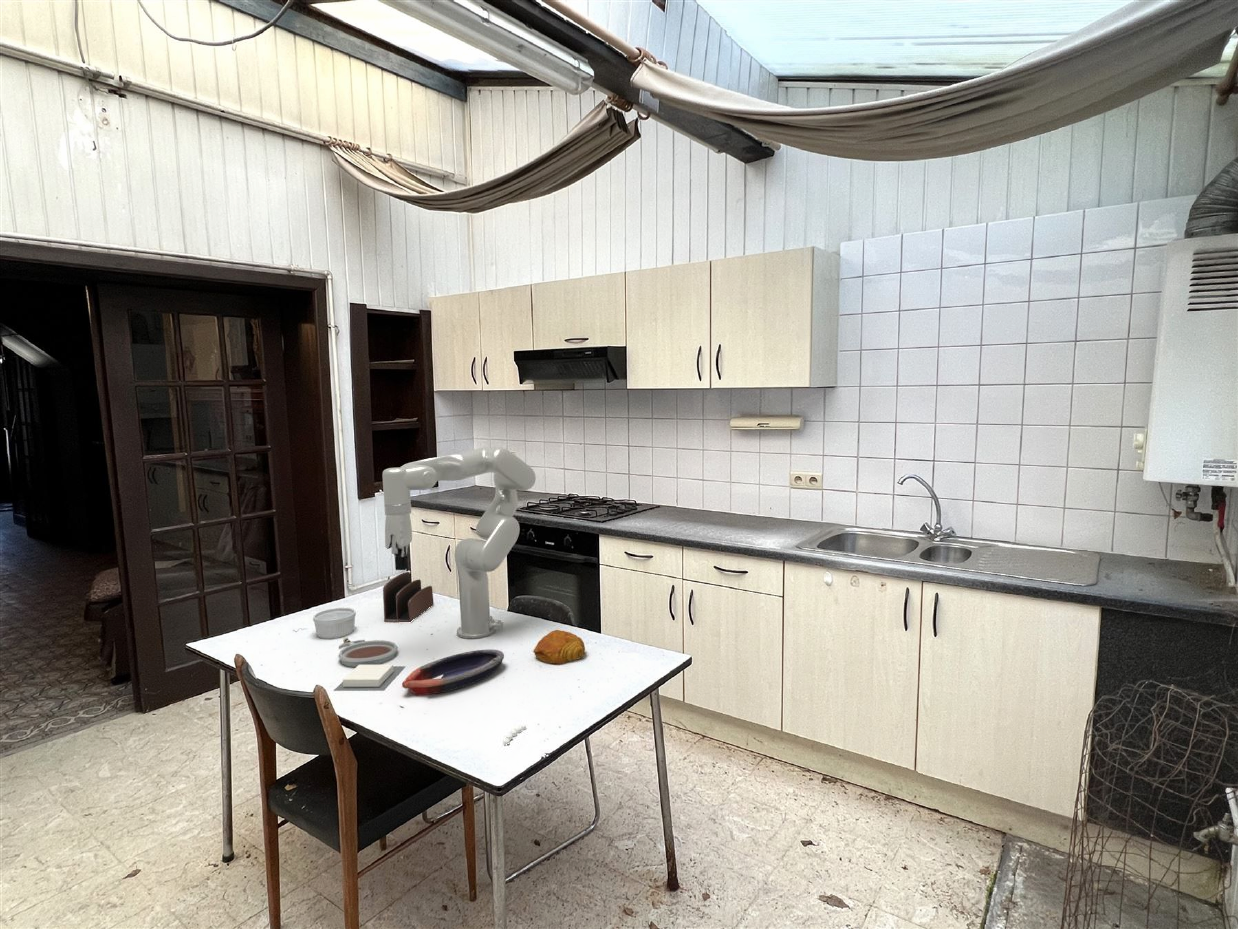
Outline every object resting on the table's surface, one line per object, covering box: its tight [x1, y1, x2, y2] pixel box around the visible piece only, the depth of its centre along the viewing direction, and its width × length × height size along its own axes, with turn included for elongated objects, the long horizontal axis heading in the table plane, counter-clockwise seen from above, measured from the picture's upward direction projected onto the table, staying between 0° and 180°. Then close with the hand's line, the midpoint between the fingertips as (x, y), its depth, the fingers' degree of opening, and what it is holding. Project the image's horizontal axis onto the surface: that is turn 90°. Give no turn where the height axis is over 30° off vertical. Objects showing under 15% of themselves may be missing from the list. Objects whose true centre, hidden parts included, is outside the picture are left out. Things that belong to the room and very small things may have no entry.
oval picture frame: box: [337, 636, 399, 668], centre depth 208 cm, size 17×3×28 cm
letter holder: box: [382, 571, 435, 623], centre depth 245 cm, size 10×20×14 cm, turn 172°
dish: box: [401, 649, 505, 696], centre depth 187 cm, size 16×31×5 cm, turn 131°
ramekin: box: [312, 607, 356, 640], centre depth 227 cm, size 13×13×7 cm
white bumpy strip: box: [502, 724, 527, 746], centre depth 155 cm, size 15×4×2 cm, turn 156°
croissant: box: [532, 629, 586, 665], centre depth 203 cm, size 14×16×8 cm
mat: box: [332, 665, 407, 692], centre depth 189 cm, size 14×16×1 cm
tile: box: [342, 664, 394, 687], centre depth 188 cm, size 10×2×10 cm
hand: (401, 569), depth 203 cm, fingers closed
